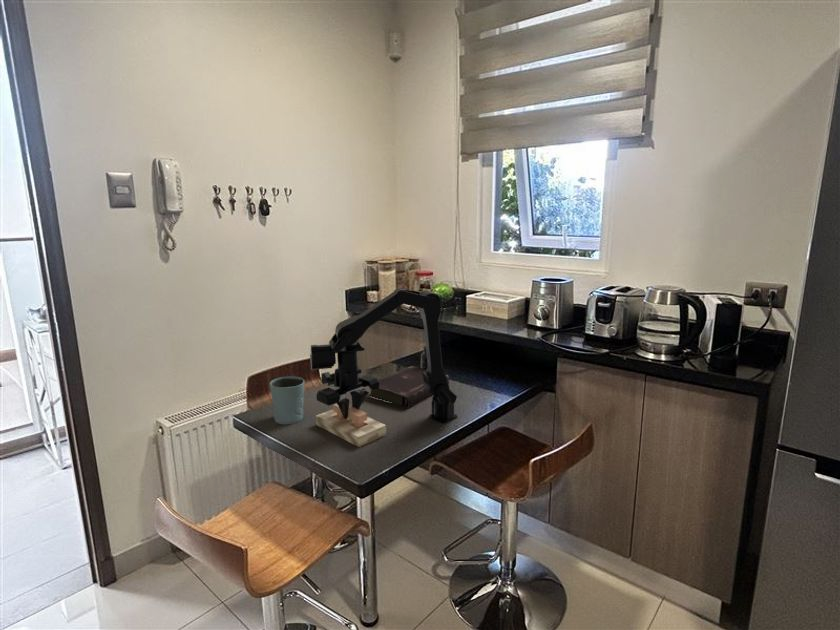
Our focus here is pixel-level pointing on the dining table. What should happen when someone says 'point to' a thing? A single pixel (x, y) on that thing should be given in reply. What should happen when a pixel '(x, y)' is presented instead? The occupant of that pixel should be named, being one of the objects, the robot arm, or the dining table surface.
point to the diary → (403, 387)
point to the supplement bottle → (424, 359)
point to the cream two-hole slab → (351, 428)
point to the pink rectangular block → (352, 415)
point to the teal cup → (287, 399)
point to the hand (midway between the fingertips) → (350, 417)
